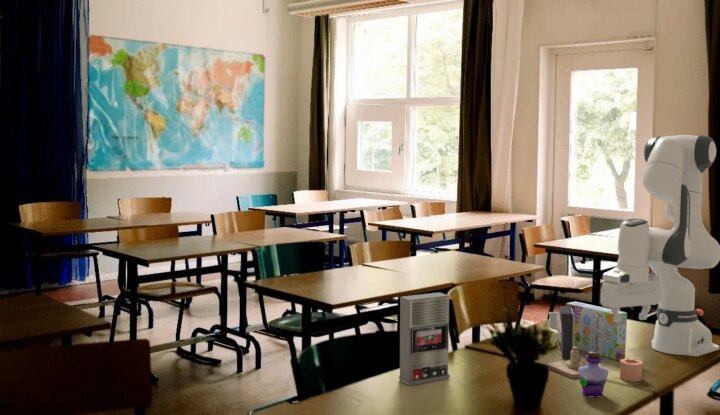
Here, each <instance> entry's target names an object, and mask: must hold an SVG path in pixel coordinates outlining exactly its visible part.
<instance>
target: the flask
mask: <svg viewBox="0 0 720 415" xmlns="http://www.w3.org/2000/svg"><path fill="white" fill-rule="evenodd" d="M548 316H549V319H548V323H547V326H549V327H551V328H552V329H555V330H557V331H558V334H556V335H554V337H553V338H554V340H555V339H556V338H558V337H560V338H561V328H560V326H559V322H558V321H559V320H558V316H559V313H558V312H555V311H554V312H553V311H550V312H548ZM559 344H561V341H560V343H559Z"/></svg>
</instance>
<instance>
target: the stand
mask: <svg viewBox="0 0 720 415" xmlns="http://www.w3.org/2000/svg"><path fill="white" fill-rule="evenodd" d="M546 365H547V366H549V370H551V369H552V370H551V371H553V370H554V371H553V372H555V371H556V372H555V373H557V374H561V375H563V376H565V377H568V378H570V379H572V380H573V379H578V378H579V373H578V368H579V367H581V366H587V365H588V362H586V361H583V360H580V351H579V350H578V349H577V347H573V350H571V359H565V360H560V361H555V362H554V361H553V362H548V363H545V366H546Z"/></svg>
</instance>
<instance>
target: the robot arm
mask: <svg viewBox="0 0 720 415" xmlns="http://www.w3.org/2000/svg"><path fill="white" fill-rule="evenodd" d="M716 156H717V147H716V142H715V141H714V139H713V138H712V137H711V136H708V135H702V134H699V135H693V134H679V135H665V136H654V137H651V138H649V139H648V140H647V141H646V143H645V145H644V150H643V158H644V161H645V163H646V165H645V169H644V171H643V176H642V177H643V178H642V184H643V186H644V188H645V190H646V191H647V192H648V193H649V194H650V195H651V196H652V197H654V198H655V199H657V200H660V201H663V202H664V203H665V204H664V214H665V217H666V218H667V219H668V220H669V221H670V222H672V223H673V227H672V228H671V229H668V230H664V229H663V230H662V229H653V228H650V225H649V221H648V220H645V219H642V218H629V219H625V220H623V221H622V222H621V224H620V228H619V232H618V242H617V251H618V259H617V262H616V263H617V264H616V266H615V267H614V268H612V269H610V270H607V271H606V272H603V274H602V280H603V282H602V285H601V291H600V304H601V307H603V308H608V309H611V311H612V313H613V315H614V321H615V322H617V323H619V322H622V316H620V314H619V312H618V311H621V308H631V307H641V308H642V309H641V312H639V313H638V319H639V320H640V321H646V320H647V319H648V314H649V312H650V310H651V306H653V305H657V307H656V317H657V320H656V321H655V326H654V333H653V339H651V348H652V349H653V350H655V351H658V352H661V353H665V354H669V355H670V354H671V355H679V356H680V355H681V356H690V357H699V356H703V355H706V354H710V353H712V352H715V351H718V350H720V345H718V344H717V343H713V335H712V332H711V330H710V329H709V328H708V327H707V326H706V325H705V324H703V323H702V322H701V321H700V320H699V317H698V316H701V317H702V316H703V315H704V311H703V309H700V308H696V309H695V302H696V301H695V299H696V298H695V297H696V296H695V295H696V288H695V285H694V284H693V283H692V282H691V281H690V280H689V279H688V278H686V277H684V276H682V275H681V274H680V273H679V270H678V268H683V269H684V268H685V269H694V270H705V269H713V268H715V267H716V266H717V265H718V263H719V262H720V244H719V242H718V241H717V240H716V239H715V238H714V237H713V236H712V235H711V234H710V233H709V232H708V231H707V229H706V227H705V225H704V223H703V218H702V199H703V187H704V185H703V173H704V172H705V171H706V170H707V169H709V168H710V167H711V166H712V165H713V163H714V162H715V159H716ZM650 269H651V271H652V273H649V271H650Z"/></svg>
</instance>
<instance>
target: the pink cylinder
mask: <svg viewBox="0 0 720 415" xmlns="http://www.w3.org/2000/svg"><path fill="white" fill-rule="evenodd" d="M619 368H620V369H619V371H620V372H619V378H620V379H622V380H624V381H625V382H626V381H627V382H641V381H642V380H643V378H642V376H643V361H642V360H639V359H636V358H630V357H629V358H626V357H625V358H622V359H620V367H619Z"/></svg>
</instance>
